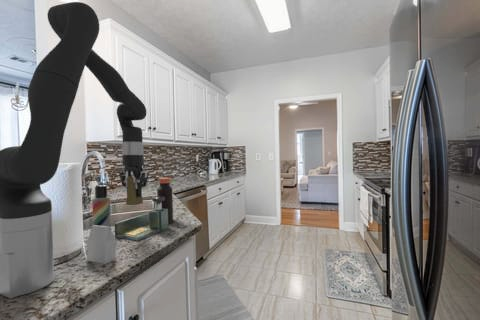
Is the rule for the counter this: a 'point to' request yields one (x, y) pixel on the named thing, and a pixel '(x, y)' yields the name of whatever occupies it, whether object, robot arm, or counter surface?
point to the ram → (158, 203)
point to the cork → (132, 192)
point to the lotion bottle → (101, 207)
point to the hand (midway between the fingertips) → (134, 197)
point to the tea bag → (101, 245)
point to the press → (142, 225)
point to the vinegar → (166, 196)
